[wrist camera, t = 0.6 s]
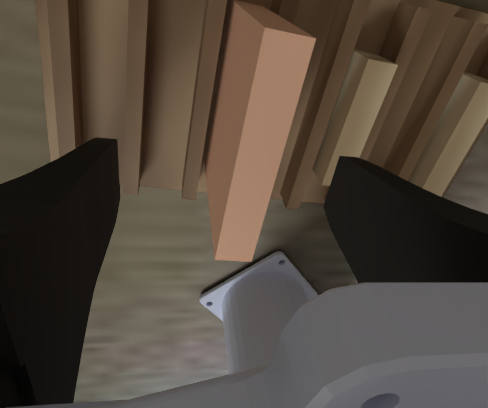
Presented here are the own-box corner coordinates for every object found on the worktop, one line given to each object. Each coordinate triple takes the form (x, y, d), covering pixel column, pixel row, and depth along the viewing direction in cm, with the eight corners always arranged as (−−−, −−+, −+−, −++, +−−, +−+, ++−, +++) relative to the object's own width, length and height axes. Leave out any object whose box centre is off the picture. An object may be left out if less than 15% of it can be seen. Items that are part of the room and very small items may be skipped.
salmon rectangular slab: (263, 6, 18) (316, 38, 11) (229, 167, 22) (251, 261, 15) (231, -1, 17) (264, 27, 10) (204, 164, 22) (214, 259, 15)
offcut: (372, 52, 20) (398, 65, 17) (330, 165, 23) (346, 187, 21) (346, 46, 19) (368, 58, 17) (307, 162, 23) (321, 184, 21)
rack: (521, 23, 21) (560, 30, 19) (417, 207, 28) (437, 228, 25) (32, -105, 15) (7, -115, 13) (55, 170, 22) (42, 193, 20)
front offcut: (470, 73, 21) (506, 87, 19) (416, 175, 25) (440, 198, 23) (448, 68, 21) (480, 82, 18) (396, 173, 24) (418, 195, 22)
